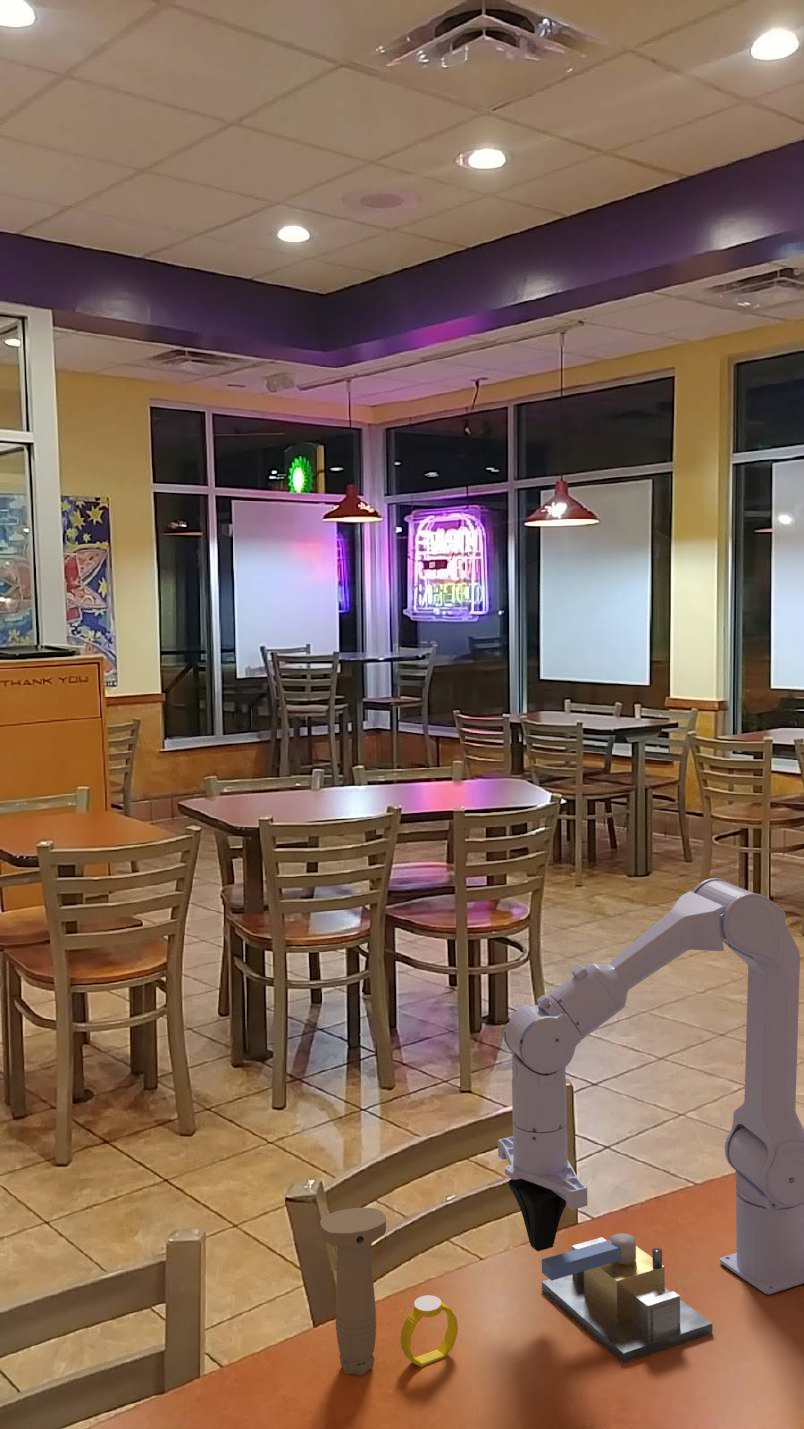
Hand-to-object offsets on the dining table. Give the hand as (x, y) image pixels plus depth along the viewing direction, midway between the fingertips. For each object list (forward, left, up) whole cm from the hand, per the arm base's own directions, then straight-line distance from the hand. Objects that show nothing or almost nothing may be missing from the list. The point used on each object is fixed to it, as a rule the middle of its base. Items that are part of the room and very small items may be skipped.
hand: (542, 1246), depth 129 cm
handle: (+22, +1, -7) cm, 23 cm away
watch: (+15, +3, -7) cm, 17 cm away
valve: (-7, +5, -6) cm, 11 cm away
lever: (-3, +5, -1) cm, 6 cm away
